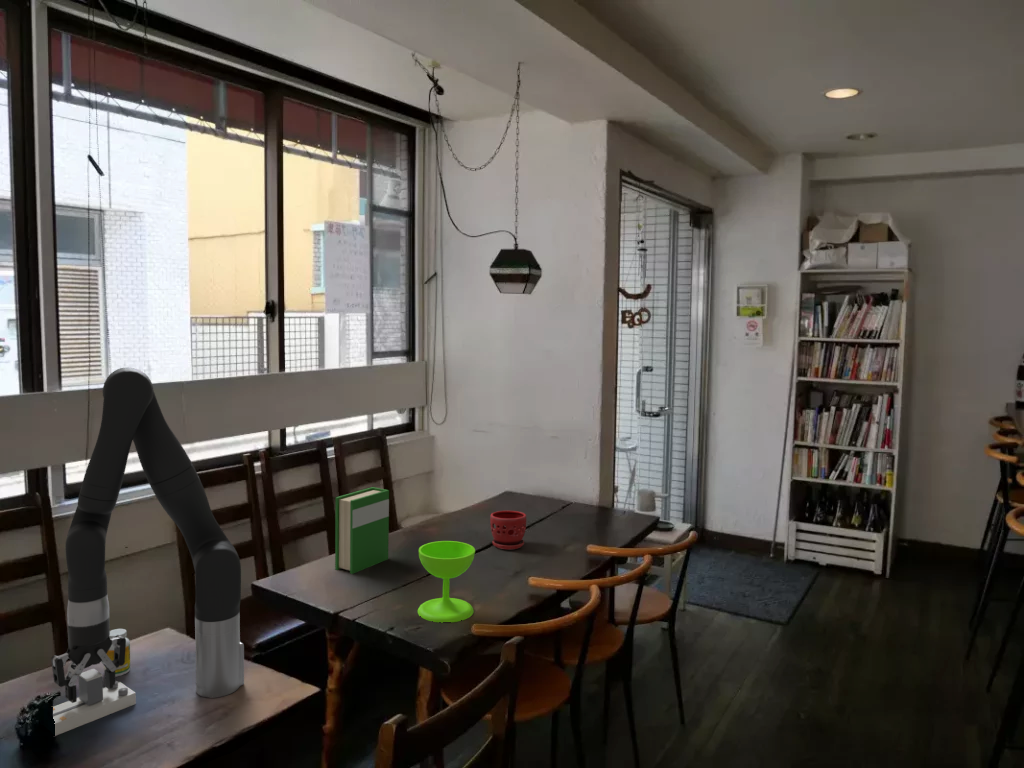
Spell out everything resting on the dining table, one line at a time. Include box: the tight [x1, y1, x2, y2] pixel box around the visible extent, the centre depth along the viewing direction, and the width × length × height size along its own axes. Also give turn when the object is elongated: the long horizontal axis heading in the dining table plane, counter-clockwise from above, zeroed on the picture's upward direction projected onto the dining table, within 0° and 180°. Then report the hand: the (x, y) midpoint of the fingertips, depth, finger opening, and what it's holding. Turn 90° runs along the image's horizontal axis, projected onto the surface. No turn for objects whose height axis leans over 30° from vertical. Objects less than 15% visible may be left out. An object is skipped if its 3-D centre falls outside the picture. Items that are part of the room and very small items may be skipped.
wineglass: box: [417, 540, 476, 624], centre depth 213 cm, size 16×16×18 cm
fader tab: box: [78, 668, 104, 706], centre depth 156 cm, size 3×4×6 cm
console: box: [52, 680, 137, 737], centre depth 156 cm, size 16×7×4 cm, turn 142°
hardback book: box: [334, 486, 390, 575], centre depth 249 cm, size 18×7×24 cm, turn 149°
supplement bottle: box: [103, 628, 131, 678], centre depth 173 cm, size 5×5×10 cm
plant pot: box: [489, 510, 527, 551], centre depth 273 cm, size 13×13×12 cm
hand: (91, 694), depth 156 cm, fingers open, 6 cm apart
